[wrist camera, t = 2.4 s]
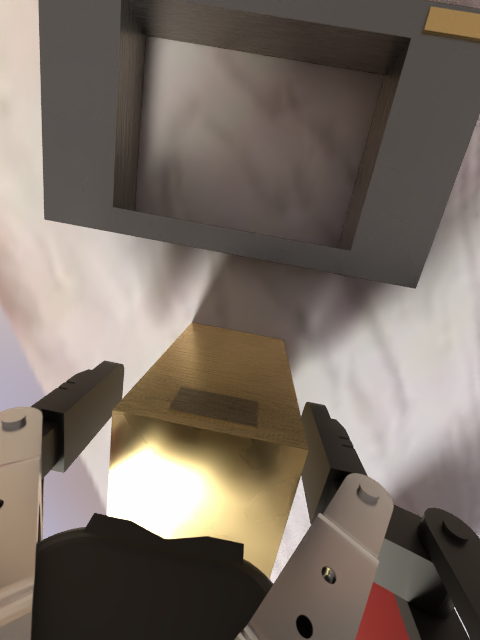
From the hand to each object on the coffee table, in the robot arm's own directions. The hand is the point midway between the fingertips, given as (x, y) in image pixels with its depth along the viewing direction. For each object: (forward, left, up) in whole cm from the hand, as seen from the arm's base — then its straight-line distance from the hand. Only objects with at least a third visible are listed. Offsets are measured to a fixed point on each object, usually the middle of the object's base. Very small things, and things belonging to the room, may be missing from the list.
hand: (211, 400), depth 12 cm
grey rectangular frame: (+1, -11, -4) cm, 11 cm away
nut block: (0, 0, -4) cm, 4 cm away
